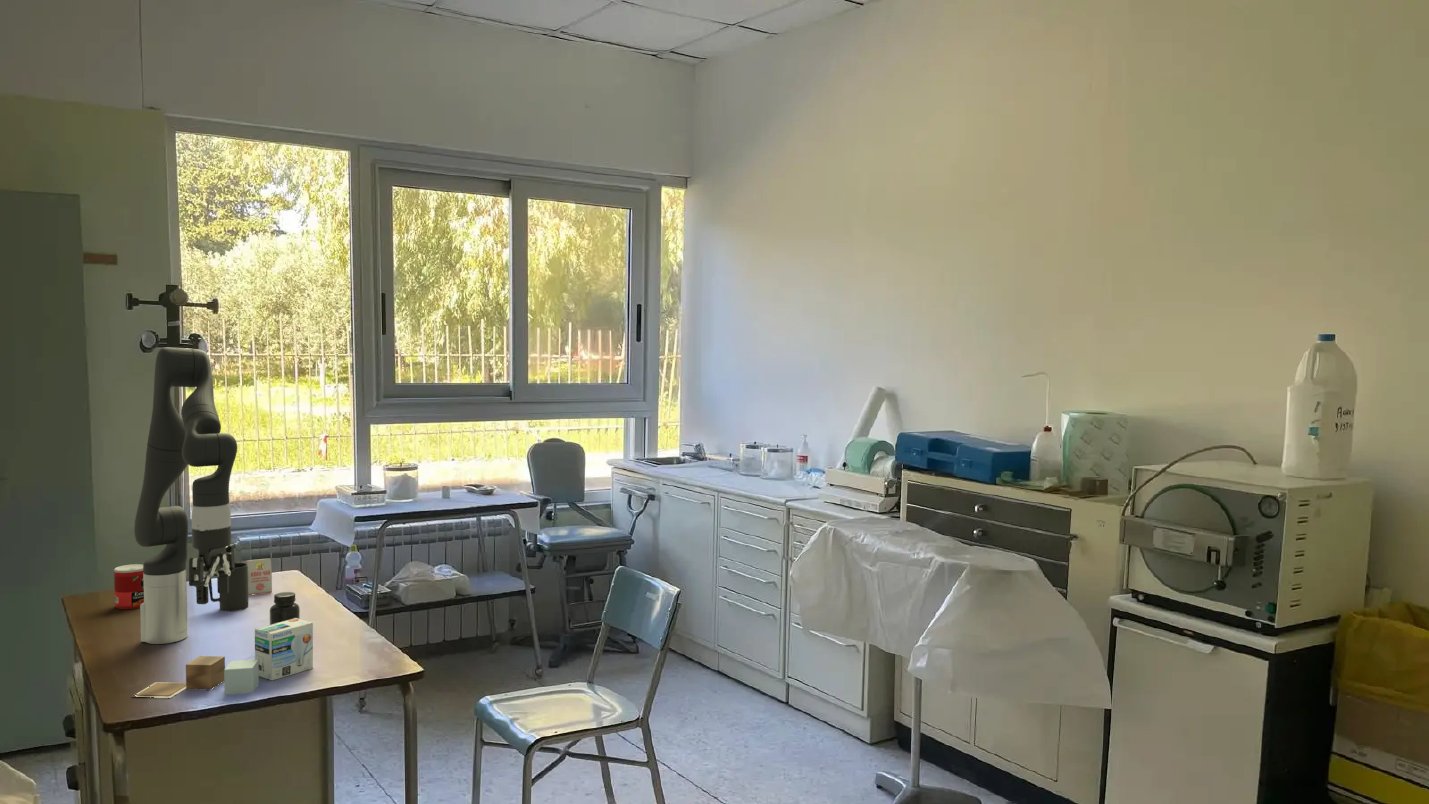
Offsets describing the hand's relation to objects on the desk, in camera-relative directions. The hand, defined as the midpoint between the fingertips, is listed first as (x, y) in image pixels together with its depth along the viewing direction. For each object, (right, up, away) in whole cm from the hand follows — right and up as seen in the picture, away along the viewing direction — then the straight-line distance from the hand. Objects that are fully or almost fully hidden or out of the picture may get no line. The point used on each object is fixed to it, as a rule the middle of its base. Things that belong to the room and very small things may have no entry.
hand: (213, 598), depth 204 cm
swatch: (-8, -19, -4) cm, 21 cm away
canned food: (-54, -15, +59) cm, 81 cm away
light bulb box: (+12, -19, +9) cm, 24 cm away
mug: (-26, -15, +57) cm, 65 cm away
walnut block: (-1, -19, 0) cm, 19 cm away
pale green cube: (+8, -19, -2) cm, 21 cm away
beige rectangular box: (-26, -14, +74) cm, 80 cm away
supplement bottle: (+2, -17, +30) cm, 34 cm away
